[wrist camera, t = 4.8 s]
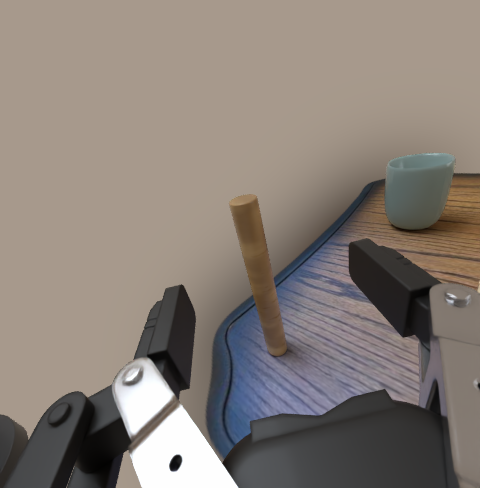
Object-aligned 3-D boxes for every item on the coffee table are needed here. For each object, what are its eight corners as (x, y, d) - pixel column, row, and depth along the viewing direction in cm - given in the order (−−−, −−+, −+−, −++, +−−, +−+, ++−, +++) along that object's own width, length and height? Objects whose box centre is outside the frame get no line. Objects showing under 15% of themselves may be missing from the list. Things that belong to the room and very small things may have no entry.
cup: (444, 237, 32) (460, 165, 28) (379, 234, 37) (384, 171, 32) (440, 214, 38) (453, 150, 33) (384, 213, 42) (388, 156, 37)
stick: (274, 360, 22) (235, 207, 15) (263, 345, 24) (224, 201, 16) (291, 349, 23) (262, 197, 15) (279, 336, 25) (248, 192, 17)
